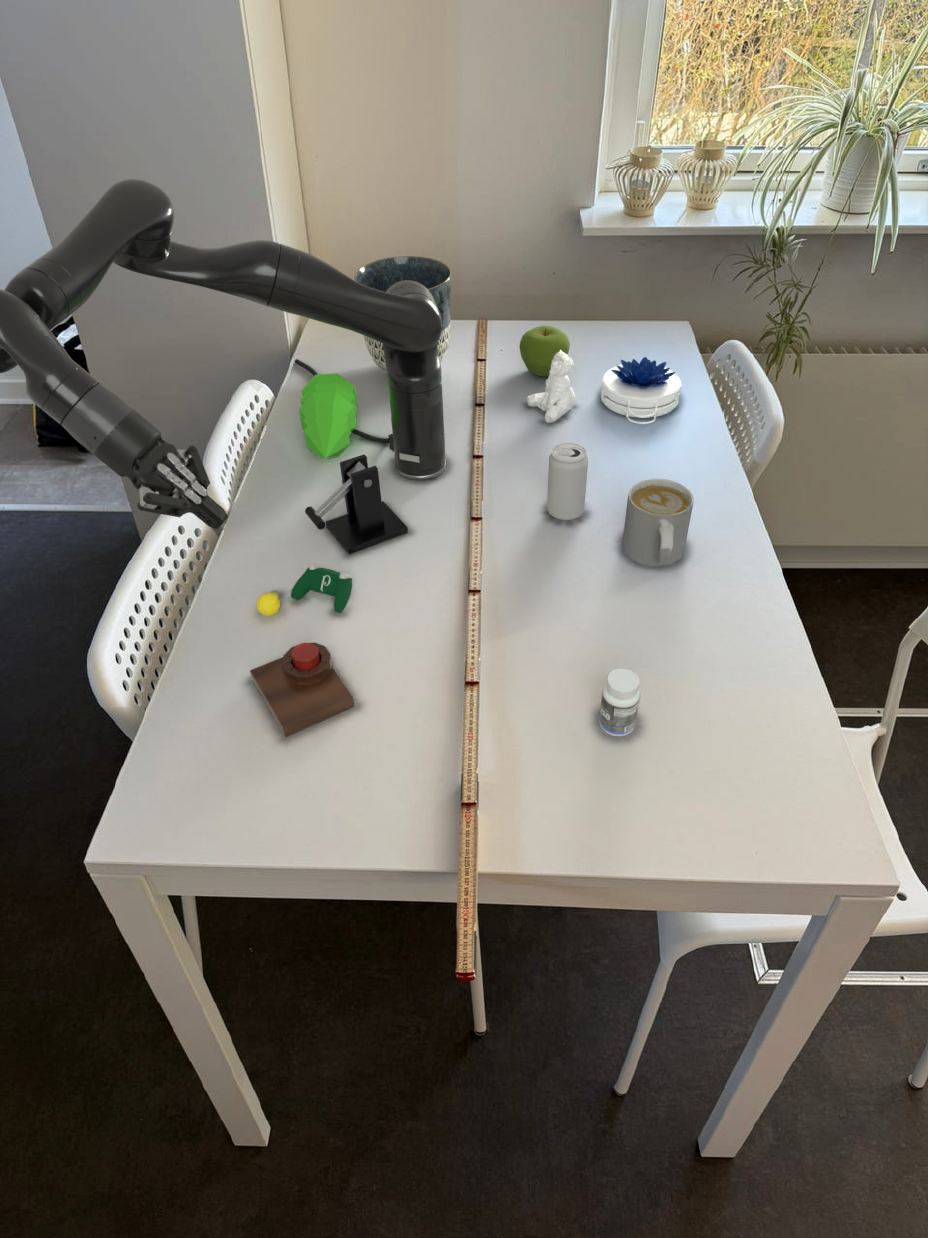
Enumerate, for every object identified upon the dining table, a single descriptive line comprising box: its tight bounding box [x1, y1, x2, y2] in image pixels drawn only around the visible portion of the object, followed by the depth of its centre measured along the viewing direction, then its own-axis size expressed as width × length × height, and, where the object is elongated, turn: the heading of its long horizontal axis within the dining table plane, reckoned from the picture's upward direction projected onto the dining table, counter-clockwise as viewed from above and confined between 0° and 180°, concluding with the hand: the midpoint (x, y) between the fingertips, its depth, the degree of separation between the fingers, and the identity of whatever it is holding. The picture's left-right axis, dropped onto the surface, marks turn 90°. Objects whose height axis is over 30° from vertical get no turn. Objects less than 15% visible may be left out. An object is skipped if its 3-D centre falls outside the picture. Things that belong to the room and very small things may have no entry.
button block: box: [249, 642, 355, 738], centre depth 117 cm, size 12×10×4 cm
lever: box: [304, 462, 366, 530], centre depth 138 cm, size 12×5×2 cm
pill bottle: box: [598, 668, 641, 737], centre depth 110 cm, size 5×5×8 cm
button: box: [291, 642, 320, 670], centre depth 117 cm, size 4×4×2 cm
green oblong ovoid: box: [298, 372, 358, 460], centre depth 162 cm, size 11×12×30 cm
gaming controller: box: [290, 563, 353, 614], centre depth 132 cm, size 9×4×6 cm
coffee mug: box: [621, 478, 694, 568], centre depth 135 cm, size 13×10×10 cm
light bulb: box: [256, 589, 281, 617], centre depth 130 cm, size 3×6×4 cm, turn 175°
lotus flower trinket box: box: [600, 356, 682, 425], centre depth 172 cm, size 7×16×20 cm
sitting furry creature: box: [526, 350, 577, 424], centre depth 169 cm, size 10×9×12 cm
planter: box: [353, 255, 453, 374], centre depth 179 cm, size 20×20×21 cm
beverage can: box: [546, 442, 589, 521], centre depth 143 cm, size 6×6×12 cm
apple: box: [519, 325, 571, 378], centre depth 182 cm, size 11×10×10 cm
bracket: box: [325, 454, 409, 555], centre depth 141 cm, size 11×9×13 cm
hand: (222, 522), depth 113 cm, fingers closed
